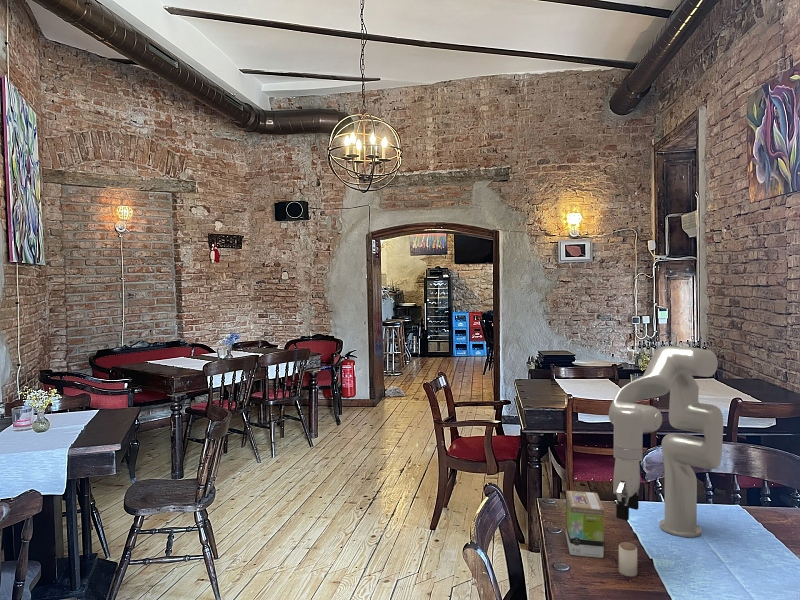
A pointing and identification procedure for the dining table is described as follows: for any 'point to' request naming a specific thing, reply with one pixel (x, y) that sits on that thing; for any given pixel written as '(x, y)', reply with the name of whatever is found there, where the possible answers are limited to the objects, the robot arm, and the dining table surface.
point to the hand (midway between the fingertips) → (627, 513)
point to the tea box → (584, 524)
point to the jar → (628, 559)
